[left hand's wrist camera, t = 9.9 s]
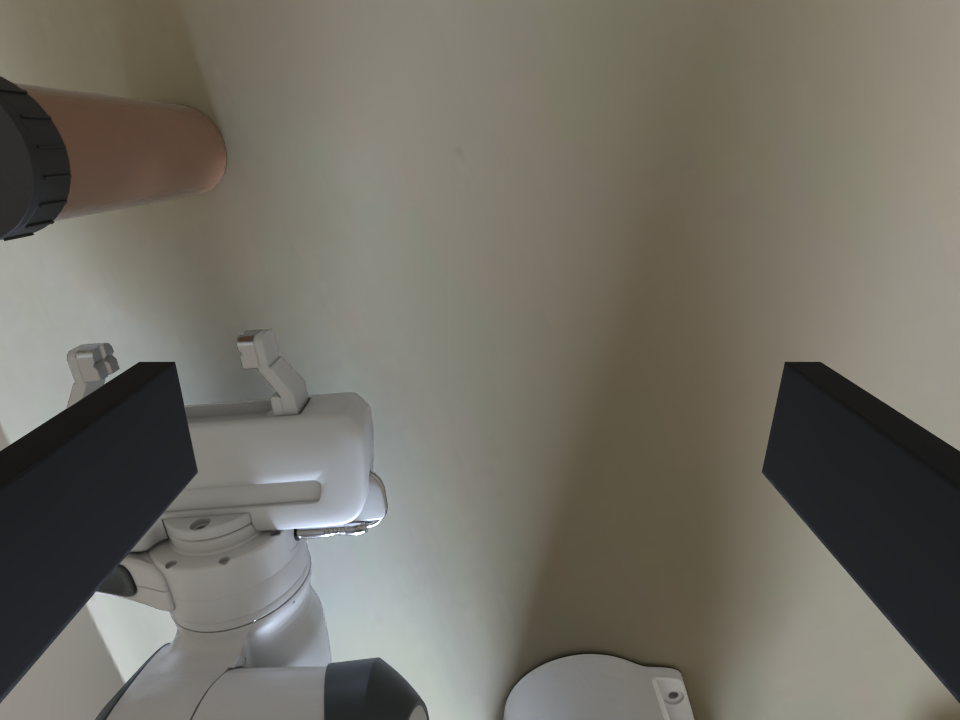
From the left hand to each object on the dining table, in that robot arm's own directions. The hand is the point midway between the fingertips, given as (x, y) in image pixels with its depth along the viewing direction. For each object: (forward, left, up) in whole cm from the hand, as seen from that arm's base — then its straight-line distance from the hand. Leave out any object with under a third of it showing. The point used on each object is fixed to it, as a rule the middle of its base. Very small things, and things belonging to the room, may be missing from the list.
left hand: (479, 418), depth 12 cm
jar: (-9, -16, -25) cm, 31 cm away
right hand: (0, -18, -18) cm, 26 cm away
